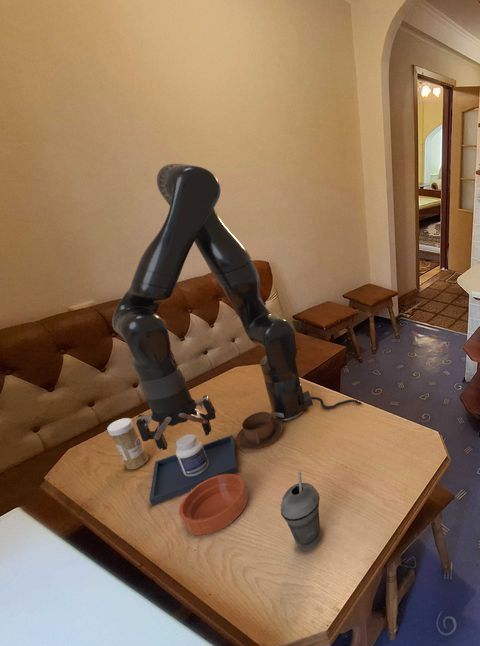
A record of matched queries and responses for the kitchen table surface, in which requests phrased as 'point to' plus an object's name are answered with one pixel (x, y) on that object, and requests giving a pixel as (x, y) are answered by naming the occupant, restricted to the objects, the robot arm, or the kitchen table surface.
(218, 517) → the bowl
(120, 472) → the kitchen table surface
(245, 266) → the robot arm
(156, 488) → the tray
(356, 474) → the kitchen table surface
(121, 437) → the sprinkles bottle
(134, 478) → the kitchen table surface
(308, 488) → the beverage cup
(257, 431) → the cup and saucer
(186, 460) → the pill bottle
